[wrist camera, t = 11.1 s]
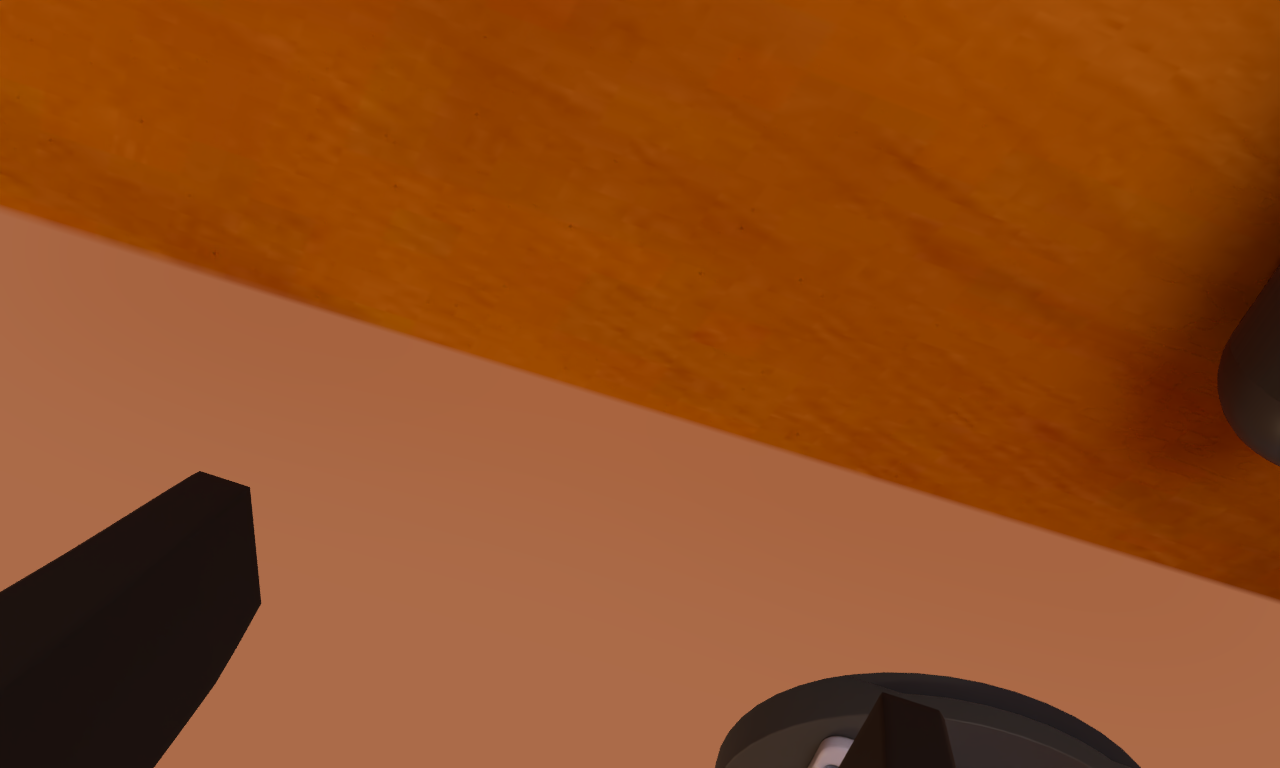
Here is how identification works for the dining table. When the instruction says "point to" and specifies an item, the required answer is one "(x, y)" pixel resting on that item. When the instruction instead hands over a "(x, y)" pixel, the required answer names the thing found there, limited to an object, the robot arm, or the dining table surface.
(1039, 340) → the dining table surface
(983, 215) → the dining table surface
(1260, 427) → the spatula
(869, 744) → the robot arm
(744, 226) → the dining table surface
